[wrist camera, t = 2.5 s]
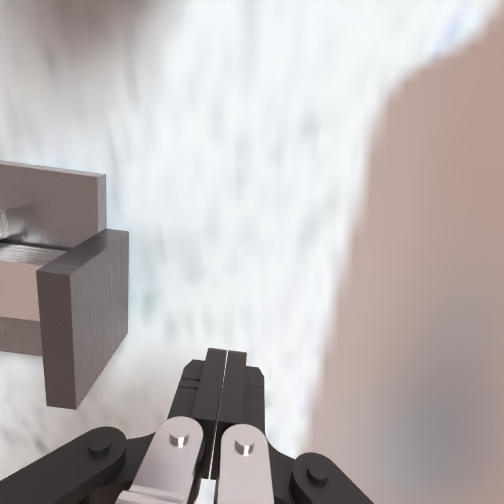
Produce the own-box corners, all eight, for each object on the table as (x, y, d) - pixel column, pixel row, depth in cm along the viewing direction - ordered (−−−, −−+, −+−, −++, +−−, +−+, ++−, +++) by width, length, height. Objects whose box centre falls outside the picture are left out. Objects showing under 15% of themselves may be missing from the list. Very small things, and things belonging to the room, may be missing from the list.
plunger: (-54, 207, 17) (-195, 241, 12) (128, 231, 18) (69, 275, 12) (-37, 312, 19) (-152, 382, 14) (127, 333, 20) (76, 409, 14)
